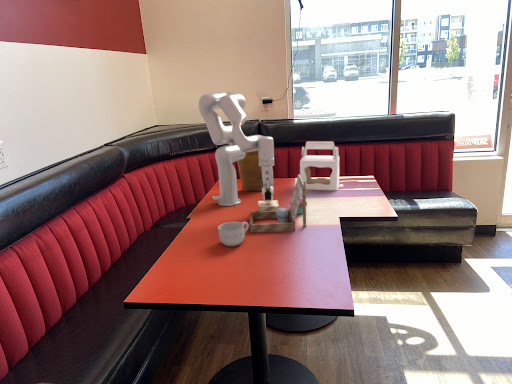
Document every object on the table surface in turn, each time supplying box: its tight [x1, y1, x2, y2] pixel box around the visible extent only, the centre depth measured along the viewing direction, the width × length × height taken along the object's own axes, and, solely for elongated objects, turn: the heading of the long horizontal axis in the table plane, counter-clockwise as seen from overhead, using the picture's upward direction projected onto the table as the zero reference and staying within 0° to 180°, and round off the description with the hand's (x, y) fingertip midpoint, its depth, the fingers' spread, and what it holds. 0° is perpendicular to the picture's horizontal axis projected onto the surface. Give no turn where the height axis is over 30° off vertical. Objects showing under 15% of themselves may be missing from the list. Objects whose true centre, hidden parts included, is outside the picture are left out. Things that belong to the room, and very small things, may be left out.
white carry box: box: [299, 140, 340, 191], centre depth 232 cm, size 22×13×28 cm, turn 72°
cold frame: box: [249, 173, 307, 234], centre depth 176 cm, size 25×18×21 cm
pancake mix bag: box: [237, 150, 264, 192], centre depth 232 cm, size 7×19×28 cm, turn 82°
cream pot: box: [261, 185, 274, 202], centre depth 191 cm, size 6×6×7 cm
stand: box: [257, 199, 280, 211], centre depth 193 cm, size 10×10×5 cm
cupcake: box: [289, 198, 308, 215], centre depth 191 cm, size 9×8×12 cm
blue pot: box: [276, 207, 289, 223], centre depth 179 cm, size 6×6×7 cm
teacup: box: [217, 221, 250, 247], centre depth 159 cm, size 14×11×8 cm
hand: (267, 197), depth 192 cm, fingers closed on cream pot, 5 cm apart
